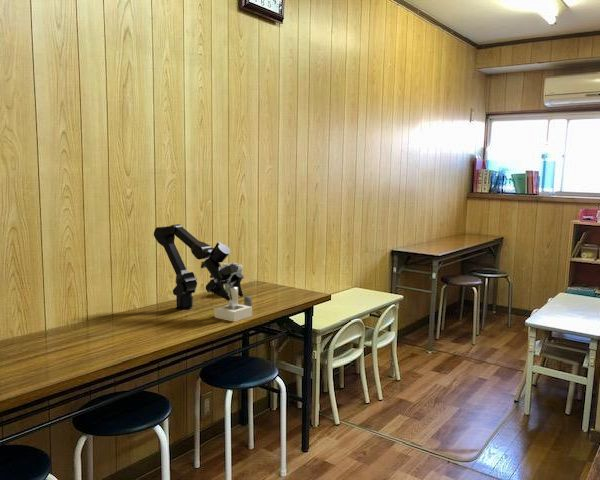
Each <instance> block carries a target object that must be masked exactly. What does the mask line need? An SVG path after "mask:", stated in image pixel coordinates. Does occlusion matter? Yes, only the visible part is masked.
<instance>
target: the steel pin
mask: <svg viewBox="0 0 600 480" xmlns="http://www.w3.org/2000/svg"><path fill="white" fill-rule="evenodd" d="M228 296H229V297H230V300H229V301H228V304H229V309H231V310H236V309H238V304H239V295H238V287H236V286H232V287H228Z"/></svg>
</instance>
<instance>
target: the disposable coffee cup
mask: <svg viewBox="0 0 600 480" xmlns="http://www.w3.org/2000/svg"><path fill="white" fill-rule="evenodd" d="M230 264H232V262H227V263H226V262H225V263H222V265H221V266H222V267H223V266H225V267H226V266H229V265H230ZM236 264H237V265H238V270H237V272H234V273H232V275H231V277H232V276H233V275H234V274H238V273H241V274H242V275H243V269H244V267H243V265H242V263H241V264H240V263H236ZM231 277H229V279H230V278H231ZM228 287H231V286H230V285H229V284H225V285H224V289H225V291H226V292H227V293H228Z"/></svg>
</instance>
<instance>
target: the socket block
mask: <svg viewBox="0 0 600 480" xmlns="http://www.w3.org/2000/svg"><path fill="white" fill-rule="evenodd" d="M251 317H253V306H252V307H251V306H245V305H244V304H239V303H238V309H236V310H231V309H229V303H228V304H225V305H221V306H217V307H214V318H216V319H220V320H225V321H230V322H237V321H241V320H245V319H248V318H251Z"/></svg>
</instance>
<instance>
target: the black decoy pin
mask: <svg viewBox="0 0 600 480" xmlns="http://www.w3.org/2000/svg"><path fill="white" fill-rule="evenodd" d="M252 298H253V297H252V296H251V295H249V296H248V295H246V296H244V297H243V300H244V301H243V305H245V306H251V307H252V308H253V306H252V304H253V303H252V301H253V299H252Z"/></svg>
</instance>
